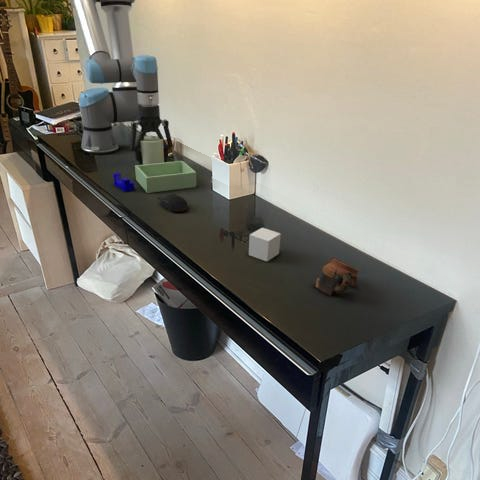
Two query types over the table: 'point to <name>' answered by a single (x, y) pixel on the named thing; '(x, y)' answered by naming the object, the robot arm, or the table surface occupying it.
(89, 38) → the robot arm
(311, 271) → the table surface
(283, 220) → the table surface
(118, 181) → the cable holder
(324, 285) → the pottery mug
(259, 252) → the white cube
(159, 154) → the can
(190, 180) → the bin
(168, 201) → the gaming mouse
